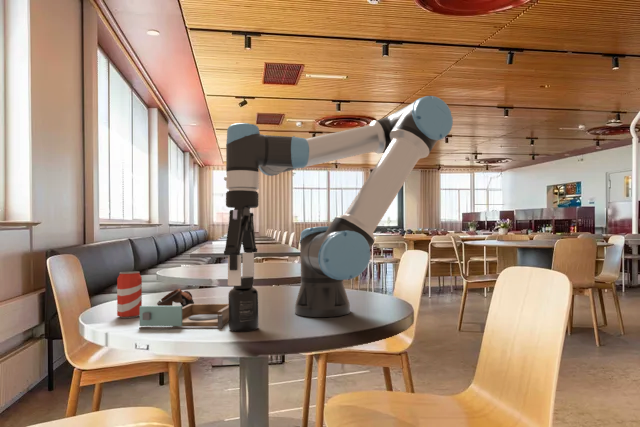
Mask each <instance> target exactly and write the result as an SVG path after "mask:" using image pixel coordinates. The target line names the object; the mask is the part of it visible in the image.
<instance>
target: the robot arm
mask: <svg viewBox="0 0 640 427" xmlns="http://www.w3.org/2000/svg"><path fill="white" fill-rule="evenodd" d="M453 118H454V117H453V116H452V111H451V109H450V107H449V106H448V104H447V103H446V102H445V101H444V100H443V99H442V98H440V97H438V96H435V95H425V96H423V97H419V98H417V99H416V100H414V101H413V102H412V103H409V104H408V105H406V106H403V107H402V108H401V109H398V110H397V111H395V112H393V113H391V114H390V115H388V116H385V117H382V118H380V119H376V120H373V121H371V122H370V123H369V125H364V126H361V127H355V128H351V129H346V130H342V131H336V132H331V133H328V134H321V135H318V136H313V137H308V138H304V137H298V136H295V135H293V136H283V135H268V134H267V135H266V134H261V133H260V128H259V126H257V125H256V124H251V123H249V122H248V123H247V122H237V123H233V124H231V125H229V126H228V127H227V129H226V144H225V145H226V146H225V148H226V149H225V151H226V154H225V155H226V156H225V157H226V159H225V162H226V163H225V164H226V169H225V170H226V175H225V176H224V178H223V180H224V181H226V182H225V183H226V184H225V188H226V189H227V190H228V191H226V193H225V206H226V207H227V208H230V210H229V221H228V227H227V234H226V235H227V236H226V240H225V247H224V248H225V249H224V250H223V255H224V256H227V286H229V287H231V286H232V287H234V286H240V285H241V276H252V277H253V280H254V279H255V253H258V248H257V244H256V234H255V225H254V212H251V209H255V208H259V202H260V201H259V199H260V198H259V192H258V190H259V189H260V173H259V172H261V173H262V174H264V175H266V176H268V177H270V176H271V177H274V176H277V175H280V174H282V173H286V172H289V171H293V170H294V171H295V170H298V169H304V168H306V167H311V166H315V165H319V164H325V163H328V162H329V163H330V162H334V161H338V160H343V159H347V158H350V157H355V156H359V155H364V154H368V153H372V152H374V153H376V154H378V155H379V154H382V156H381V157H380V159H378V162H377V163H376V164H375V166H374V168H373V170H371V172H370V174H369V175H368V177H367V178H366V180H365V182H364V183H363V185H362V186H361V188H360V190H359V191H358V192H357V194H356V195H355V197H354V199H353V200H352V201H351V203H350V205H349V207H348V208H347V210H346V211H345V213H344V214H341V215H336V216H335V217H334V219H333V220H332V222H331V223H330V225H329V226H328V225H325V226H324V225H322V226H314V227H307V228H305V229H303V230H302V231H301V232H300V239H299V245H300V248H299V249H300V286H299V290H298V294H297V297H296V300H295V304H294V313H295V314H296V315H297V316H301V317H308V318H309V317H310V318H331V317H332V318H333V317H340V316H345V315H348V314H350V313H351V304H350V301H349V298H348V297H349V296H348V295H347V292H346V289H345V286H344V280H346V281H347V280H352V279H354V278H357V277H359V276H360V275H361V274H362V273H363V272H364V271H365V270H366V269H367V267H368V266H369V263H370V260H371V254H372V253H371V249H372V247H373V245H374V244H375V242H376V240H375V235H374V233H375V231H376V229H377V227H378V226H379V224H380V222H381V221H382V219H383V217H384V216H385V215H386V213H387V211H388V209H389V208H390V206H391V205H392V204H393V201H394V200H395V199H396V196H397V195H398V193H399V192H400V190H401V189H402V187H403V185H404V184H405V182H406V181H407V179H408V177H409V176H410V175H411V172H412V171H413V169H414V167H415V166H416V164H418V161H419V160H420V159H424V158H427V157H429V155H430V153H431V152H432V150H433V149H434V147H435V146H436V143H438V141H441V140H443V139H445V137H447V136H448V135H449V134H450V133H451V131H452V128H453V124H454V119H453ZM242 248H243V252H242V255H241V250H242Z"/></svg>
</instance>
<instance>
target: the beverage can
mask: <svg viewBox="0 0 640 427" xmlns="http://www.w3.org/2000/svg"><path fill="white" fill-rule="evenodd" d="M142 281H143V277H142V275H141V274H140V271H120V272H119V275H118V276H117V280H116V284H117V285H116V293H117V294H116V296H117V297H116V301H117V302H116V315H117V317H119V318H120V319H134V318H138V317H140V306H143V305H142V304H143V303H142V302H143V300H142V299H143V298H142V297H143V287H142V285H143V282H142Z"/></svg>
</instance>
